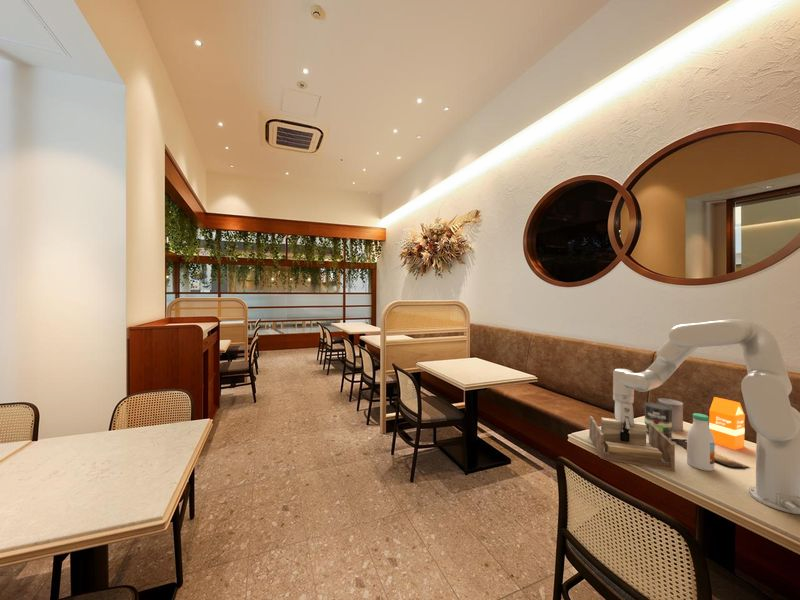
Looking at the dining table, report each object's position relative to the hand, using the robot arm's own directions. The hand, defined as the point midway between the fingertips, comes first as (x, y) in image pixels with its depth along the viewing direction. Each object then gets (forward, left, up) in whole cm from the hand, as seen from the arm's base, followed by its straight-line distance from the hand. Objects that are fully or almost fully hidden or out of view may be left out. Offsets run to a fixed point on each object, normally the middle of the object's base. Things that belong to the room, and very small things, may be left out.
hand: (622, 438), depth 139 cm
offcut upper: (-12, 0, 0) cm, 12 cm away
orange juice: (+19, -44, -4) cm, 48 cm away
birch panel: (0, 0, -2) cm, 2 cm away
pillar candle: (+31, -28, -4) cm, 42 cm away
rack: (-6, 0, -3) cm, 7 cm away
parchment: (+7, -35, -3) cm, 36 cm away
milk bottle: (-9, -23, -4) cm, 25 cm away
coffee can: (+19, -19, -4) cm, 27 cm away
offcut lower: (-12, 0, -2) cm, 12 cm away
